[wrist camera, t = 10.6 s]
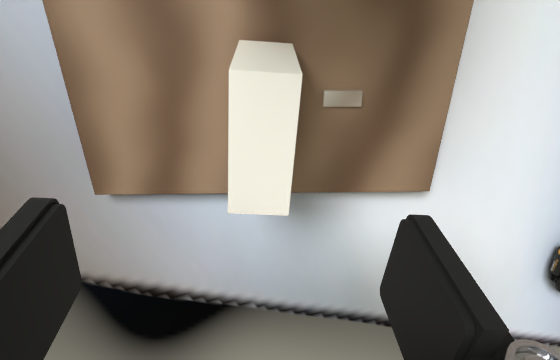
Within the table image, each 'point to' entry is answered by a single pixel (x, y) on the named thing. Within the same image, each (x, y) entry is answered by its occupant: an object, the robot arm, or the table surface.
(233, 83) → the cream cuboid brick
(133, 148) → the flat brown board
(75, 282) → the robot arm
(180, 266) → the table surface
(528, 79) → the table surface
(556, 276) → the carrying case or bag
